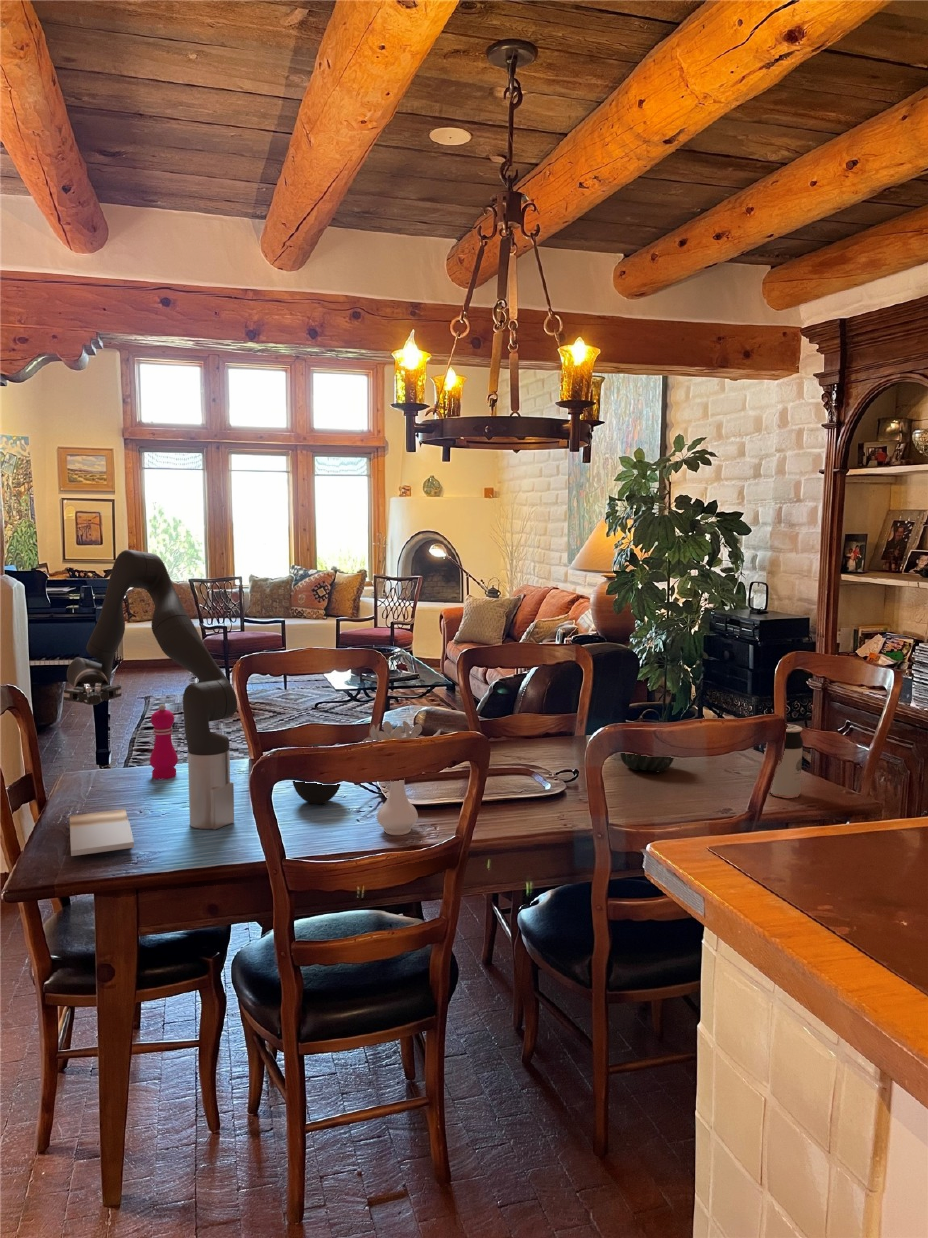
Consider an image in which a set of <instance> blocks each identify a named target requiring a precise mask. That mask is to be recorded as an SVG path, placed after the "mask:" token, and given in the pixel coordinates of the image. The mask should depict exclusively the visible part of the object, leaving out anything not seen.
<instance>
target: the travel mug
mask: <svg viewBox="0 0 928 1238" xmlns="http://www.w3.org/2000/svg"><path fill="white" fill-rule="evenodd" d="M786 724H787V725H788V727H787V729H786V744H785V751H784V755H783V759H782V763H781V764H780V765H779V766H778V768H777V773H776V774H775V777H774V780H773V785H772V788H771V793H773V794H779V795H786V796H790V795H797V794H800V795H801V782H802V781H801V779H802V765H803V764H802V763H803V746H804V745H803V744H804V740H803V738H802V736H801V734H802V731H803V727H802V726H799V725H795V724H789V723H786Z"/></svg>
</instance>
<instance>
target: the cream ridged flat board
mask: <svg viewBox="0 0 928 1238" xmlns="http://www.w3.org/2000/svg"><path fill="white" fill-rule="evenodd" d="M122 821H129V819H128V815H127V811H126V808H121V809H115V810H108V811H107V810H105V811H98V812H91V813H90V812H89V813H82V814H74V815H69V829H70V828H74V827H82V826H90V825H98V824H106V823H114V822H122Z"/></svg>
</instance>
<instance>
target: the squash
mask: <svg viewBox="0 0 928 1238" xmlns="http://www.w3.org/2000/svg"><path fill="white" fill-rule="evenodd" d="M649 723H660V721H650V722H649ZM619 754H620V758H621V759H620V760H622V763H623V764H624V765H625V766H626V767H628V768H630V769H631V770H635V771H638V770H641V771H646V770H647V771H649V772H650V771H652V770H653V772H655V771H659V772H658V773H661V772H660V771H662V772H664V771H665V770H666V769H668V768H669V767H670V766H671V765H672V764H673V762H674V759H675V757H674V758H671V757H647V756H641V755H635V754H625V753H619Z"/></svg>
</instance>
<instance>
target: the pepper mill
mask: <svg viewBox="0 0 928 1238" xmlns="http://www.w3.org/2000/svg"><path fill="white" fill-rule="evenodd" d="M174 722H175V714H174V713H173V712H172V711H170V710H168V709H166V705H165V704H163V703H161V704H160V705H159V706H158V710H156V711H154V712H153V713H152V715H151V717H150V723H151V725H152V726H153V728H152V730H153V731H152V733H153V734H154V746H153V748H152V751H151V754H150V758H149V764H150V766H151V767H152V768H153V769H152V770H151V776H152V779H155V780H169V779H172V778H175V777H176V776H177V769H176V768H175V766H177V764H178V762H179V758H178V753H177V752H176V749H175V747H174V744H173V742H172V734H173V724H174Z"/></svg>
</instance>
